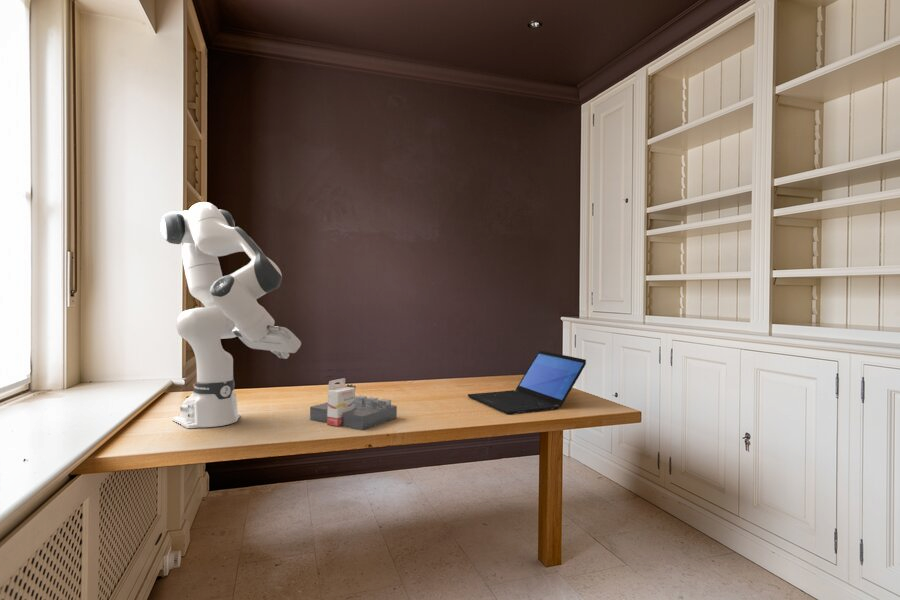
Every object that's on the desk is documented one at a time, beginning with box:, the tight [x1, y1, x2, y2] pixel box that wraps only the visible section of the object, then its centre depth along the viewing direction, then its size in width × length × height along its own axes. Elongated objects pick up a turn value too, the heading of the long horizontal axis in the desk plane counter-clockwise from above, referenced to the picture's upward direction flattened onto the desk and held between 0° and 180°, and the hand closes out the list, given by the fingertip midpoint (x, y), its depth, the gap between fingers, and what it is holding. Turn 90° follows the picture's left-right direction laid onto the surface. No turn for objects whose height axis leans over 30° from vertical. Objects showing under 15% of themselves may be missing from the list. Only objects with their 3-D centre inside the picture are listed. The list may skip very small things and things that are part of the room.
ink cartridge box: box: [326, 377, 356, 427], centre depth 164 cm, size 9×5×15 cm, turn 150°
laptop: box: [467, 350, 587, 415], centre depth 200 cm, size 33×38×19 cm
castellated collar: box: [309, 394, 398, 431], centre depth 170 cm, size 24×18×6 cm
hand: (285, 356), depth 144 cm, fingers closed
